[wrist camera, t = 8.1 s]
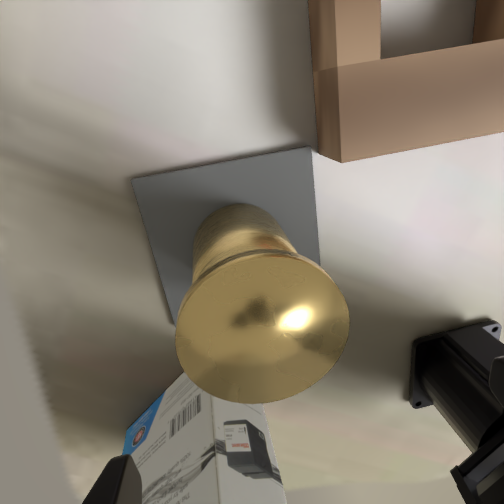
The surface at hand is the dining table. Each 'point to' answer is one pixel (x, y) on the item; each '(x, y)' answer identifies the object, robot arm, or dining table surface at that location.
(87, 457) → the dining table surface
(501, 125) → the bore block
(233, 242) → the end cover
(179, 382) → the ink box
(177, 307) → the felt pad
